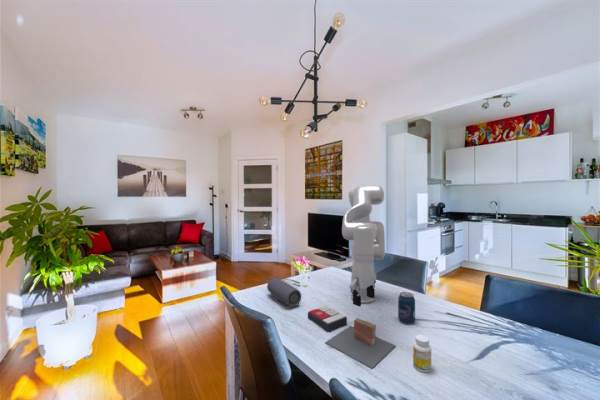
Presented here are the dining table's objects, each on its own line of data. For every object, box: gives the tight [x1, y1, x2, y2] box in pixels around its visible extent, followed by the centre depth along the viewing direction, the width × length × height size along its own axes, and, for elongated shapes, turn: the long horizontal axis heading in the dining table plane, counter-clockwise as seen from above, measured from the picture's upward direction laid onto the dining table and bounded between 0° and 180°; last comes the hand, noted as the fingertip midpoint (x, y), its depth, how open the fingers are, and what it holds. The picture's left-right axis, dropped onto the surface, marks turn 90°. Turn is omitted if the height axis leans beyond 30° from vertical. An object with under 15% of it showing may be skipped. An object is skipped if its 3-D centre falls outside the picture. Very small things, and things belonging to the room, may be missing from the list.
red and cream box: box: [307, 305, 348, 333], centre depth 111 cm, size 11×4×15 cm
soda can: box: [397, 291, 416, 325], centre depth 110 cm, size 7×7×12 cm
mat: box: [325, 325, 397, 370], centre depth 93 cm, size 17×20×1 cm
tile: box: [353, 317, 377, 346], centre depth 95 cm, size 3×8×7 cm, turn 45°
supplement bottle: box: [412, 334, 432, 373], centre depth 81 cm, size 5×5×10 cm
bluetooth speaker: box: [266, 277, 302, 307], centre depth 133 cm, size 23×9×10 cm, turn 34°
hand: (363, 301), depth 95 cm, fingers open, 9 cm apart
